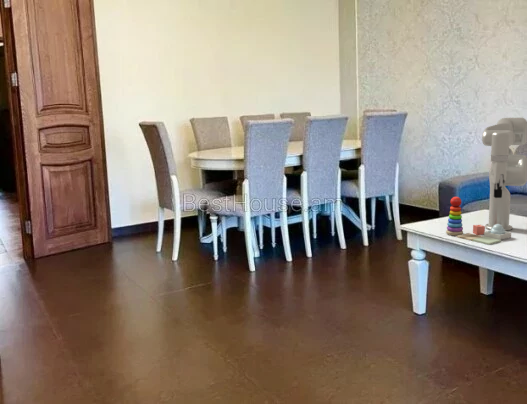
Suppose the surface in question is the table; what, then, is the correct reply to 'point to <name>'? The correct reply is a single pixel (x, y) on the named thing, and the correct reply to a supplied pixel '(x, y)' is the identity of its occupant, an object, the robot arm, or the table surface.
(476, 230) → the die
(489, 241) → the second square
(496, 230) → the dome
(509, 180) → the robot arm
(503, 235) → the popper housing
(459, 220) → the stacking toy
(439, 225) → the table surface
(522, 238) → the table surface
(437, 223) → the table surface
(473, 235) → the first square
